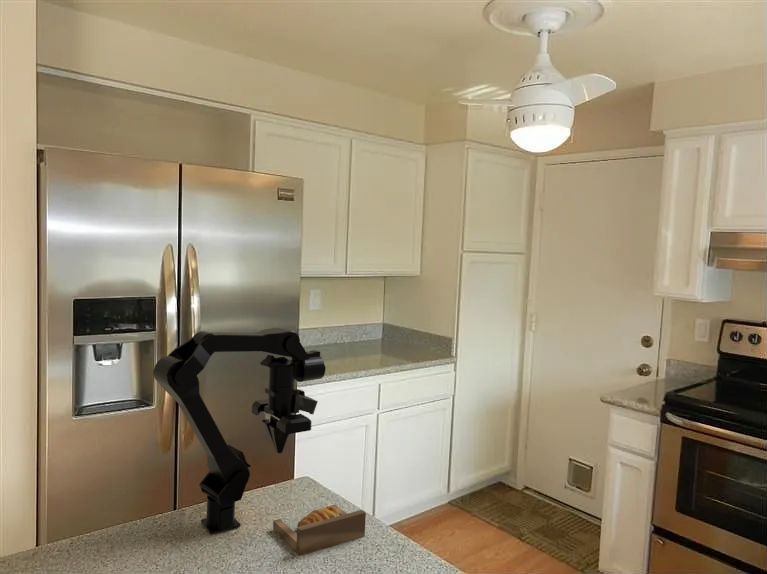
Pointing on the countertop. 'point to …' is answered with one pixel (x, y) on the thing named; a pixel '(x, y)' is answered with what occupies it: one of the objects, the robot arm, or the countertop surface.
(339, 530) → the frame
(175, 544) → the countertop surface
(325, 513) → the pastry
